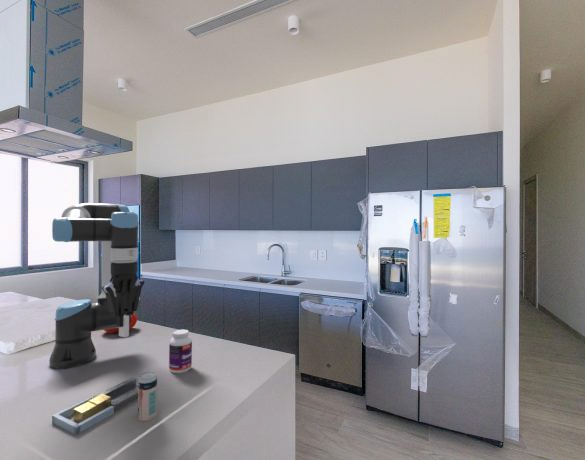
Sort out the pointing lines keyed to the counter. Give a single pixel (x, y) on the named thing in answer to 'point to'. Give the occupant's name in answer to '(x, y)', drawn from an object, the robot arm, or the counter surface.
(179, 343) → the pill bottle
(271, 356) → the counter surface
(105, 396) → the block
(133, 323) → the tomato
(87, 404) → the tan small block
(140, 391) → the beer can
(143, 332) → the counter surface
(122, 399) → the slot rail
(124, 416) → the counter surface
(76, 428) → the chip tray
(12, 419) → the counter surface
